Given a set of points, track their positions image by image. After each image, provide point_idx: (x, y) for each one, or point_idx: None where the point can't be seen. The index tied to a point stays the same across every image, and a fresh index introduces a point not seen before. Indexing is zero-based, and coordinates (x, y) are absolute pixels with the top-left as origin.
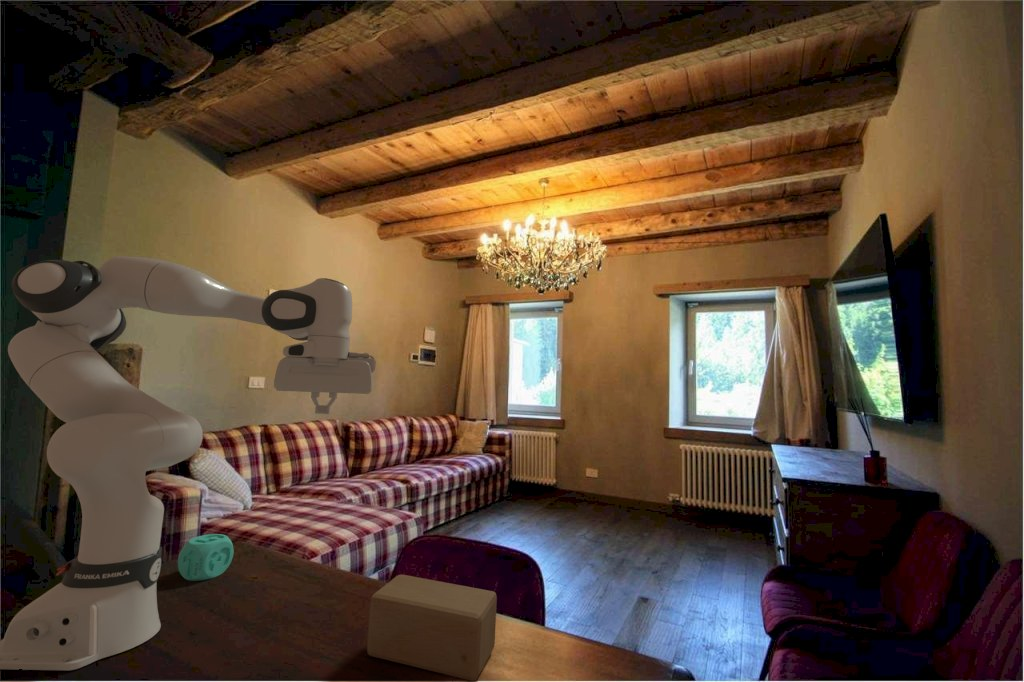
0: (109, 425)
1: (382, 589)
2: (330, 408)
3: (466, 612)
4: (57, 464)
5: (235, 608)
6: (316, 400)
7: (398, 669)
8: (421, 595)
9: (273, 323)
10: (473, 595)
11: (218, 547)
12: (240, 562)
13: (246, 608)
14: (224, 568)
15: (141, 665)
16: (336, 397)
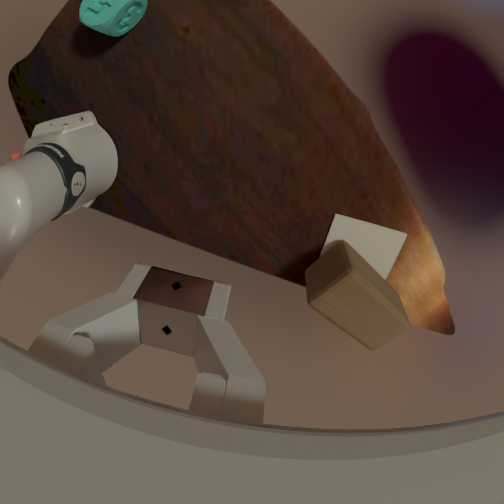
0: None
1: (321, 300)
2: (225, 312)
3: (368, 346)
4: None
5: (175, 120)
6: (110, 362)
7: None
8: (350, 319)
9: None
10: (389, 330)
11: (118, 16)
12: None
13: (187, 124)
14: (143, 11)
15: (128, 212)
16: (259, 399)
